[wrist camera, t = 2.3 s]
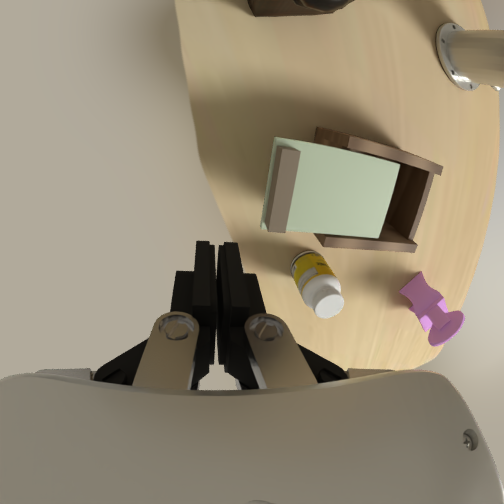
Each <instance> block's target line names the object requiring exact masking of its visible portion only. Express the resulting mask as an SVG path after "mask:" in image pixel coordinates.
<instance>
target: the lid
mask: <svg viewBox="0 0 504 504" xmlns="http://www.w3.org/2000/svg"><path fill="white" fill-rule="evenodd" d="M399 167H400V164H398V163H395V162H392V161H388V160H385V159H381V158H377V157H374V156H370V155H366V154H362V153H358V152H354V151H349V150H345V149H341V148H336V147H331V146H327V145H322V144H316V143H311V142H306V141H300V140H294V139H288V138H281V137H274V141H273V148H272V154H271V161H270V167H269V173H268V180H267V186H266V192H265V199H264V205H263V211H262V218H261V224H260V227H261V229H266V230H268V232H277V233H285V232H286V231H295V232H309V233H322V234H334V235H346V236H358V237H369V238H379V235H380V232H381V229H382V226H383V223H384V220H385V217H386V214H387V210H388V207H389V204H390V200H391V197H392V194H393V190H394V186H395V183H396V179H397V175H398V171H399Z"/></svg>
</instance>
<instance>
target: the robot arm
mask: <svg viewBox="0 0 504 504" xmlns="http://www.w3.org/2000/svg"><path fill="white" fill-rule="evenodd" d="M436 45H437V51H438V55H439V59H440V61H441V64H442V66H443V68H444V70H445V72H446V74H447V75H448V77H449V78H450V80H451V81H452V82H453V83H454V84H455V85H456V86H457V87H459V88H461V89H463V90H468V91H472V90H475V89H476V88H477V87H478V86H479V85H480V84H484V85H490V86H491V87H492V88H493V89H494V90H495V91H499V90H500V87H501V88H504V30H464V29H463V28H462V27H461V26H459V25H457V24H454V23H445V24H443V25H441V26H440V27H439V29H438V31H437V35H436ZM209 243H210V242H209V241H196V253H195V254H196V255H195V267H194V271H176V276H175V282H174V289H173V296H172V302H171V310H170V312H169V313H166V314H163V315H161V316H160V317H159V318H158V319H157V320H156V322H155V323H154V326H153V329H152V331H151V334H150V337H149V338H148V339H147V340H145V341H143V342H141V343H140V344H138V345H137V346H135V347H133V348H132V349H130V350H128V351H126V352H125V353H123V354H121V355H120V356H118V357H116V358H115V359H113V360H111V361H110V362H108V363H106V364H104V365H103V366H102V367H100V368H99V369H98V370H97V371H91V369H90V368H87V369H44V370H39V371H37V372H36V373H24V374H17V375H12V376H8V377H5V378H3V379H1V380H0V504H504V489H503V486H502V483H501V480H500V477H499V474H498V471H497V468H496V465H495V462H494V459H493V457H492V454H491V452H490V450H489V447H488V445H487V443H486V441H485V438H484V436H483V434H482V432H481V430H480V428H479V426H478V424H477V422H476V420H475V418H474V416H473V414H472V413H471V411H470V409H469V407H468V405H467V404H466V402H465V401H464V399H463V397H462V396H461V395H460V393H459V392H458V390H457V389H456V387H455V386H454V385H453V384H452V383H451V381H449V379H448V378H446V377H445V376H443V375H442V374H439V373H436V372H433V371H426V370H399V371H395V370H380V369H352V368H348V370H347V371H344V370H343V369H342V368H340V367H339V366H337V365H336V364H334V363H332V362H330V361H328V360H326V359H324V358H323V357H321V356H319V355H317V354H315V353H314V352H312V351H310V350H308V349H306V348H305V347H303V346H301V345H299V344H297V343H296V341H295V339H294V337H293V336H292V334H291V332H290V330H289V328H288V326H287V325H286V323H285V322H284V321H283V320H282V319H280V318H279V317H277V316H275V315H271V314H267V313H266V310H265V306H264V302H263V298H262V295H261V291H260V287H259V283H258V279H257V276H256V274H250V273H243V268H242V263H241V258H240V253H239V248H238V243H234V242H224V245H219V250H218V262H217V276H216V269H215V246H214V245H210V244H209ZM216 331H217V347H218V361H219V365H224V369H225V372H226V373H229V374H230V375H232V376H233V377H234V378H236V386H237V389H238V390H218V391H217V390H214V391H213V390H212V391H211V390H205V391H204V390H199V386H200V379H202V378H203V377H204V376H205V375H207V374H208V373H209V364H210V365H212V364H214V353H215V337H216Z"/></svg>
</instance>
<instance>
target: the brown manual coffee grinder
mask: <svg viewBox="0 0 504 504" xmlns="http://www.w3.org/2000/svg"><path fill="white" fill-rule="evenodd" d="M352 1H354V0H248V3H249V6H250V8H251V10H252V12H253V14H254V16H255V17H278V16H302V15H319V14H330V13H333V12H335V11H336V10H338V9H342V8H344V7H345V6H346V5H347V4H349V3H351V2H352Z"/></svg>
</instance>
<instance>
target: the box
mask: <svg viewBox="0 0 504 504" xmlns="http://www.w3.org/2000/svg"><path fill="white" fill-rule="evenodd" d="M314 143H316V144H322V145H327V146H331V147H336V148H341V149H345V150H349V151H354V152H358V153H362V154H366V155H370V156H374V157H377V158H381V159H385V160H388V161H392V162H395V163H398V164H400V167H399V171H398V175H397V179H396V183H395V186H394V190H393V194H392V197H391V200H390V204H389V207H388V210H387V214H386V217H385V220H384V223H383V226H382V229H381V232H380V235H379V238H369V237H358V236H346V235H334V234H322V233H314V235H315V236H316V237H317V239H318V240H319V242H320V243H321V244H322V246H323V247H332V248H348V249H364V250H380V251H395V252H410V253H415V250H416V248H417V244H416V243H415V242H414V241H413V238H414V236H415V233H416V230H417V228H418V225H419V222H420V219H421V216H422V213H423V210H424V207H425V204H426V201H427V198H428V194H429V191H430V188H431V184H432V181H433V177H434V173H435V174H438V175H440V176H441V173H442V169H443V166H441V165H438V164H436V163H434V162H431V161H429V160H426V159H424V158H421V157H419V156H416V155H414V154H411V153H409V152H406V151H403V150H400V149H397V148H394V147H391V146H388V145H385V144H382V143H379V142H375V141H372V140H368V139H365V138H361V137H358V136H354V135H350V134H346V133H342V132H338V131H334V130H329V129H325V128H320V127H317V128H316V133H315V139H314Z"/></svg>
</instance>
